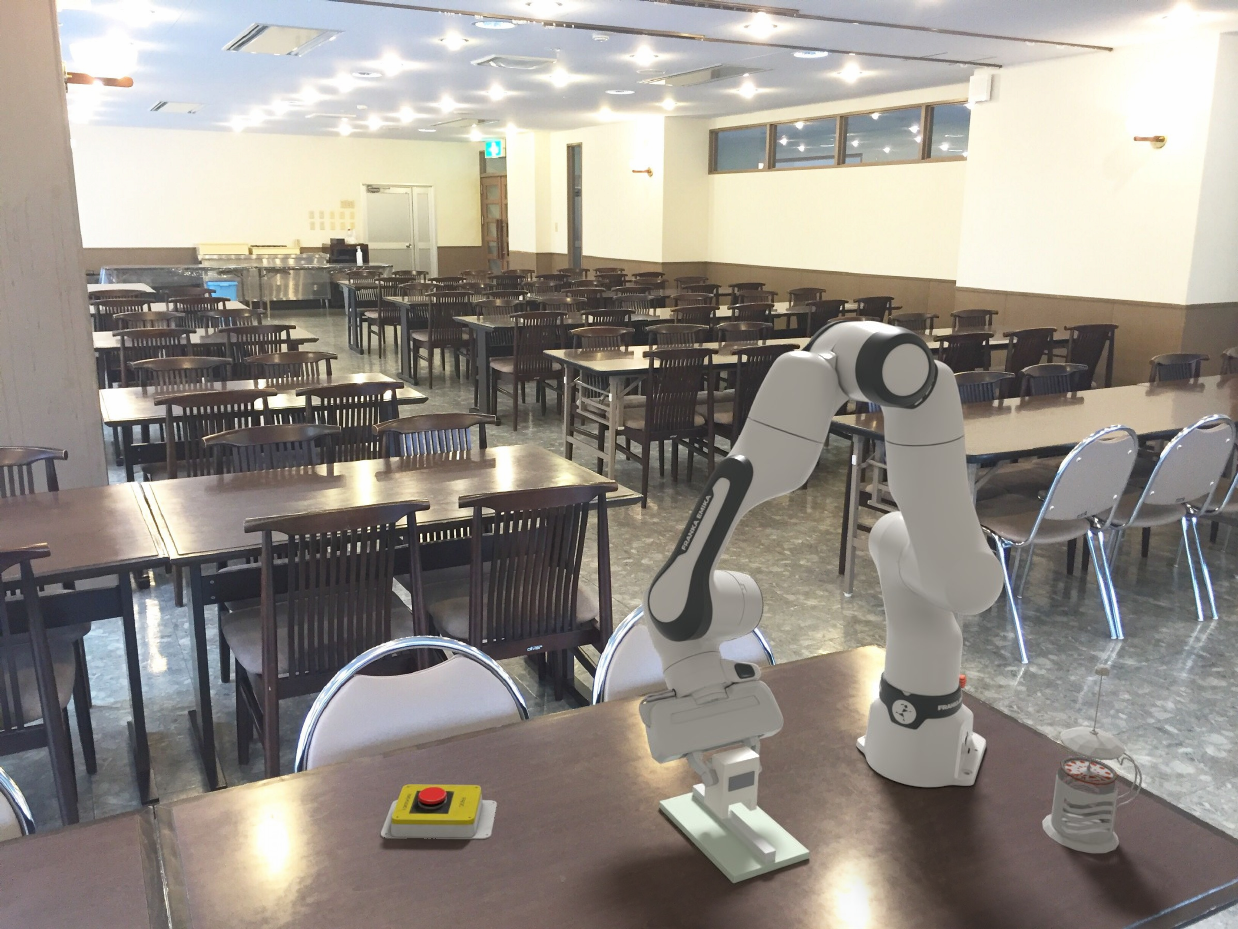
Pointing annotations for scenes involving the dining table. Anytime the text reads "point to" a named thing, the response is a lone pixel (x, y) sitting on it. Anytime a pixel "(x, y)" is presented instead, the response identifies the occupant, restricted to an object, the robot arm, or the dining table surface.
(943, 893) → the dining table surface
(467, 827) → the emergency button
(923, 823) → the dining table surface
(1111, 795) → the french press
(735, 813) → the rail board
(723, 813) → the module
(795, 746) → the dining table surface
